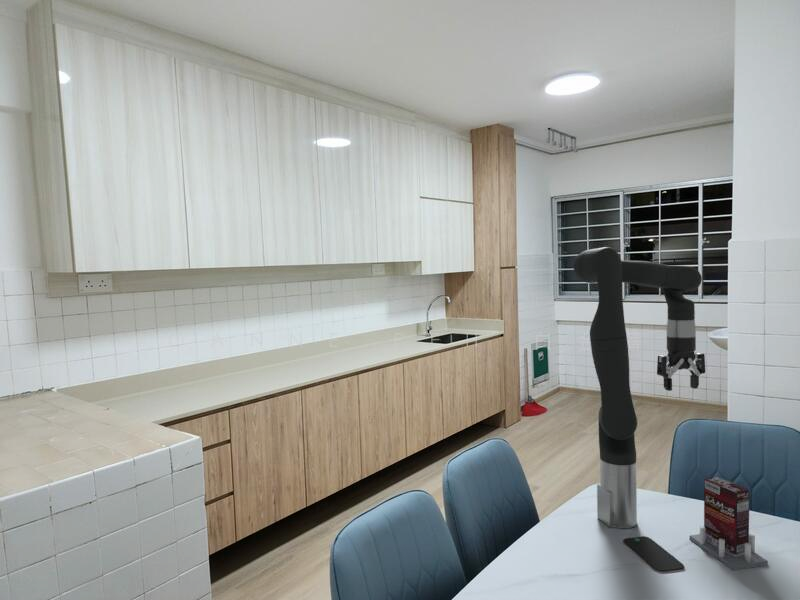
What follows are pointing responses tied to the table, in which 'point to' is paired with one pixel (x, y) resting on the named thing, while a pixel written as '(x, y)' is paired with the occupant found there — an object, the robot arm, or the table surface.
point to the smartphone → (653, 555)
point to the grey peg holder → (735, 563)
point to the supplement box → (726, 515)
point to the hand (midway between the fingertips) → (681, 389)
